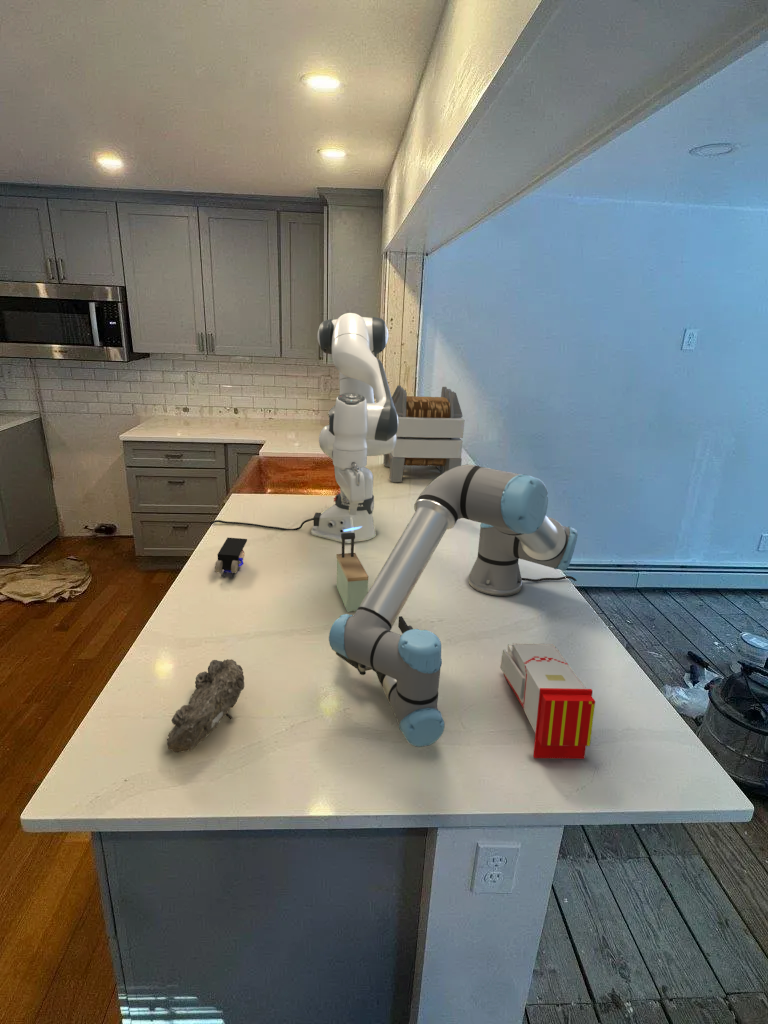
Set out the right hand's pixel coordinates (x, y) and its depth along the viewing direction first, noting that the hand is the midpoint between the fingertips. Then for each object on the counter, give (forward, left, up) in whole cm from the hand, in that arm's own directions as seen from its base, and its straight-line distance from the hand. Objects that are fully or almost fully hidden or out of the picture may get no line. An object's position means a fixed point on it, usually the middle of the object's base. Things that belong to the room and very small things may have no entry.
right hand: (372, 624), depth 131 cm
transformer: (-60, -139, -6) cm, 152 cm away
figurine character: (+30, -47, -6) cm, 56 cm away
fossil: (+36, +17, -6) cm, 40 cm away
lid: (0, -24, +3) cm, 24 cm away
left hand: (0, -29, +18) cm, 34 cm away
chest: (0, -24, -6) cm, 24 cm away
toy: (-27, +29, -6) cm, 40 cm away
